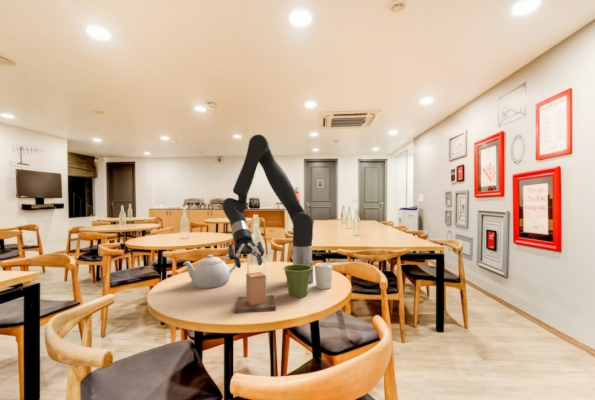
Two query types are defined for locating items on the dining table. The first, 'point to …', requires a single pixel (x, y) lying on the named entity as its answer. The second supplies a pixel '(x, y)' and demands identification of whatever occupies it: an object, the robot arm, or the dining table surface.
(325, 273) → the white cup
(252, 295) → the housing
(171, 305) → the dining table surface
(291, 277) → the plant pot
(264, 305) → the plate
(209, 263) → the teapot
